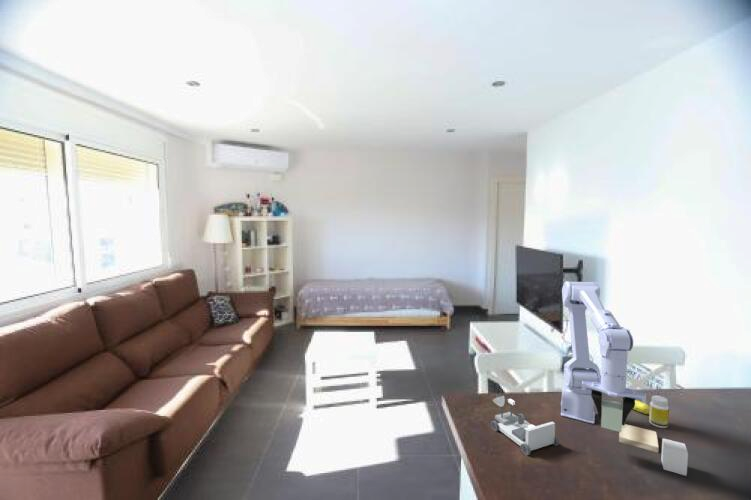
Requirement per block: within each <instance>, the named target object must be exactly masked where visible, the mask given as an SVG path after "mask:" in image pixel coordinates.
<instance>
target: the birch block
mask: <svg viewBox="0 0 751 500" xmlns="http://www.w3.org/2000/svg"><path fill="white" fill-rule="evenodd" d="M618 436H619V437H618V442H619V443H622V444H626V445H629V446H633V447H637V448H640V449H644V450H647V451H651V452H655V453H659V452H660V451H659V440H658V435H657V432H656V431H654V430H651V429H646V428H641V427H639V426H634V425H630V424H626V423H625V425H622V430H621V432H619V433H618Z"/></svg>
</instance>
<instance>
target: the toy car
mask: <svg viewBox="0 0 751 500" xmlns="http://www.w3.org/2000/svg"><path fill="white" fill-rule="evenodd" d="M495 396H496V397H495V398H493V399H492V402H493V403H494V404H495V405H497V406H498V407H500V408H501V411H500V412H501V413H499V414H495V415H494V419H495V420H491V421H490V428H491V429H492V430H493V431H495V432H498V431H500V432H501V433H502V434H503V435H505V436H506V437H508V438H509V439H510V440H512V441H513V442H514V443H516V444H517V445H518V446H519V447H520V452H521V453H523V454H524V455H525V456H529V455H530V456H531V452H532V451H535V450H538V449H541V448H543V447H547V446H549V445H554V446H555V447H558V446H559V445H560V440H559V438H558V436H557V435H555V433H556V423H555V422H554V421H549V422H546V423H542V424H538V425H534V424H531V423H530V422H529V421H527V419H526V417H525V415H524V414H523V413H518V414H517V415H515V414H514V413H513V406H515V405H516V401H515V400H514V399H512V398H507V399H505V398H506V397H505V395H500V396H499V395H498V393H496V394H495ZM506 400H507V403H508V404H510V411H508V412H504V405H505V401H506Z"/></svg>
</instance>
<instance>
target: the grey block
mask: <svg viewBox="0 0 751 500" xmlns="http://www.w3.org/2000/svg"><path fill="white" fill-rule="evenodd" d="M661 440H662V441H661V464H662V465H661V466H662V468H663V470H665V471H668V472H673V473H674V474H675V473H676V474H679V475H682V476H686V477H687V476H688V475H687V474H688V461H689V452H688V448H687V447H686V444H685V443H684V442H680V441H674V440H671V439H668V438H667V439H666V438H662V439H661Z"/></svg>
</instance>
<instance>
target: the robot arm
mask: <svg viewBox="0 0 751 500" xmlns="http://www.w3.org/2000/svg"><path fill="white" fill-rule="evenodd" d="M561 295H562V303H563V307H566V308H567V309H568V317H569V318H568V320H569V328H570V331H569V332H570V340H571V354H572V357H571V358H570V359H569V360H568V361H566V362H565V363H564V364H563V366H564V367H563V381H564V384H563V385H562V388H561V401H560V407H561V408H560V416H561V417H566V418H569V419H572V420H573V419H574V420H577V421H580V422H585V423H589V424H593V425H594V424H595V420H596V419H595V417H596V412H597V416H598V420H600V421H601V417H602V399H603V394H605V395H608V396H609V397H614V398H618V397H619V398H622V410H623V412H622V425H625V424H626V421H627V418H628V416H629V415H630V413H631V411H632V410H634V409H633V408H634V406H635V400H637V401H641V403H646V404H647V394H646V392H640V391H637V390H634V389H631V388H627V371H628V352H631V351H632V350H633V347H634V338H633V335H632V334H633V333H632V332H631V331H630V329H629V328H625V327H624V326H621V325H620V323H619V322H618V320H617V319H616V317H615V316H614V314H613V313H612V311H610V310H608V309H605V307H604V305H603V303H602V300H601V299H600V297H601V289H600V286H599V284H598V283H597V282H596V281H569V280H568V281H567V280H566V281H565V282H564V283H563V285H562V288H561ZM587 310H588V311H589V312H590V313H591V316H590V321H591V323H592V325H593V326H594V328H595V330H596V332H597V334H598V336H597V337H598V343H599V353H600V354H601V367H600V368H599V366H598V364H597V363H595V362H593V361H592V360H591V358H590V350H589V339H588V338H589V337H588V326H587V317H586V312H587ZM600 369H601V371H600ZM594 407H595V408H596V411H594V410H595V409H594Z"/></svg>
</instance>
